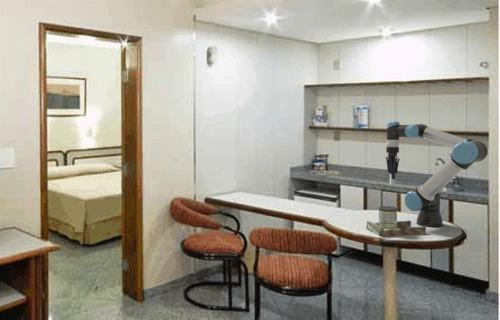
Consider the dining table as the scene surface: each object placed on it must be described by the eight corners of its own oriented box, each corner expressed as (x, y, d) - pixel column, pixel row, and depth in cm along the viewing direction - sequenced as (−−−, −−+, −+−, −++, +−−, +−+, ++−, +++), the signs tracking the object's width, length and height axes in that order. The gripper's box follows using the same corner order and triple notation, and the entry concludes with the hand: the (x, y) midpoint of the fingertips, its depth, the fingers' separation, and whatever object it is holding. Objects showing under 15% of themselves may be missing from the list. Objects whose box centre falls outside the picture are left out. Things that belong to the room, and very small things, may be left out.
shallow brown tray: (409, 226, 281) (409, 218, 280) (425, 233, 264) (426, 224, 263) (366, 229, 275) (366, 221, 275) (380, 236, 258) (380, 227, 258)
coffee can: (376, 230, 273) (376, 206, 272) (393, 229, 274) (393, 206, 273) (381, 234, 263) (382, 209, 262) (399, 233, 264) (400, 209, 262)
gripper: (382, 146, 293) (381, 182, 295) (392, 147, 280) (391, 185, 282) (392, 145, 294) (392, 182, 297) (403, 146, 282) (403, 185, 284)
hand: (392, 184), depth 290 cm, fingers closed
